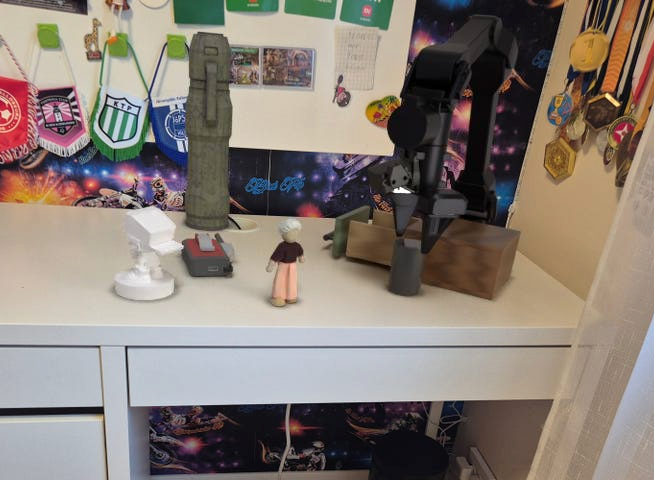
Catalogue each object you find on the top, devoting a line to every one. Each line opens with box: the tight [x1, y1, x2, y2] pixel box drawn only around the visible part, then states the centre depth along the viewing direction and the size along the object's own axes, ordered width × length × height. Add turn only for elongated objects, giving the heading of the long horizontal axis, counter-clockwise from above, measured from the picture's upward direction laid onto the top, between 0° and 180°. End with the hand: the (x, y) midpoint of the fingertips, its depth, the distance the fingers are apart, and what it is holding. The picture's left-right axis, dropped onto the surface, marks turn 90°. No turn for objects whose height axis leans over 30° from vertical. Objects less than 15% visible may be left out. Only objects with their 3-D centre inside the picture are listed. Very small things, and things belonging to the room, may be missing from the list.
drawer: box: [322, 205, 421, 267], centre depth 118 cm, size 19×13×7 cm
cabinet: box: [404, 218, 522, 301], centre depth 112 cm, size 17×15×9 cm
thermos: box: [184, 31, 234, 231], centre depth 123 cm, size 9×12×35 cm
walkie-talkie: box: [180, 232, 235, 278], centre depth 110 cm, size 9×4×20 cm
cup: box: [387, 239, 427, 297], centre depth 104 cm, size 5×5×8 cm
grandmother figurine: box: [265, 217, 306, 307], centre depth 94 cm, size 8×4×13 cm, turn 148°
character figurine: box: [114, 205, 184, 301], centre depth 93 cm, size 9×10×12 cm
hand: (411, 244), depth 102 cm, fingers open, 9 cm apart
